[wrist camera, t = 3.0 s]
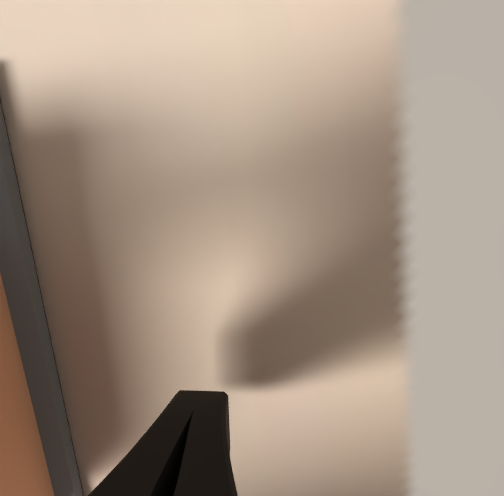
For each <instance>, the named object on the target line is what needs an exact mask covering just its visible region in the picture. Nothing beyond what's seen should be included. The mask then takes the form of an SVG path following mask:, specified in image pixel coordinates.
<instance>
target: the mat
mask: <svg viewBox="0 0 504 496" xmlns="http://www.w3.org/2000/svg"><path fill="white" fill-rule="evenodd" d="M0 274H1V278H2V282H3V286H4V290H5V295H6V299H7V303H8V307H9V311H10V315H11V319H12V323H13V327H14V332H15V336H16V340H17V344H18V348H19V352H20V356H21V360H22V364H23V369H24V373H25V377H26V381H27V385H28V389H29V393H30V397H31V401H32V406H33V410H34V414H35V418H36V422H37V426H38V430H39V434H40V438H41V443H42V447H43V451H44V455H45V459H46V463H47V467H48V471H49V475H50V480H51V484H52V488H53V492H54V496H83V493H82V488H81V483H80V479H79V474H78V469H77V464H76V460H75V455H74V450H73V445H72V441H71V436H70V431H69V426H68V422H67V417H66V412H65V407H64V402H63V398H62V393H61V388H60V383H59V379H58V374H57V369H56V364H55V360H54V355H53V350H52V345H51V341H50V336H49V331H48V326H47V322H46V317H45V312H44V307H43V303H42V298H41V293H40V288H39V284H38V279H37V274H36V269H35V265H34V260H33V255H32V250H31V246H30V241H29V236H28V231H27V227H26V222H25V217H24V212H23V207H22V203H21V198H20V193H19V188H18V184H17V179H16V174H15V169H14V165H13V160H12V155H11V150H10V146H9V141H8V136H7V131H6V127H5V122H4V117H3V112H2V108H1V103H0Z"/></svg>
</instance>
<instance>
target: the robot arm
mask: <svg viewBox="0 0 504 496" xmlns="http://www.w3.org/2000/svg"><path fill="white" fill-rule="evenodd" d="M88 496H238V495H237V491H236V486H235V482H234V477H233V472H232V467H231V461H230V432H229V407H228V395H227V394H226V393H225V392H217V391H184V390H180V391H179V392H178V393H177V394H176V395H175V396H174V398H173V399H172V400H171V401H170V403H169V404H168V405H167V407H166V408H165V409H164V411H163V412H162V413H161V414H160V416H159V417H158V418H157V419H156V421H155V422H154V423H153V424H152V426H151V427H150V428H149V429H148V430H147V432H146V433H145V434H144V435H143V436H142V438H141V439H140V440H139V441H138V442H137V443H136V445H135V446H134V447H133V448H132V449H131V450H130V452H129V453H128V454H127V455H126V456H125V457H124V458H123V459H122V460H121V462H120V463H119V464H118V465H117V466H116V467H115V468H114V469H113V470H112V471H111V472H110V473H109V474H108V475H107V476H106V478H105V479H104V480H103V481H102V482H101V483H100V484H99V485H98V486H97V487H96V488H95V489H94V490H93V491H92V492H91V493H90V494H89V495H88Z"/></svg>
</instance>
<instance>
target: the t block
mask: <svg viewBox="0 0 504 496" xmlns="http://www.w3.org/2000/svg"><path fill="white" fill-rule="evenodd" d="M0 496H54V492H53V488H52V484H51V480H50V475H49V471H48V467H47V463H46V459H45V455H44V451H43V447H42V443H41V438H40V434H39V430H38V426H37V422H36V418H35V414H34V410H33V406H32V401H31V397H30V393H29V389H28V385H27V381H26V377H25V373H24V369H23V364H22V360H21V356H20V352H19V348H18V344H17V340H16V336H15V332H14V327H13V323H12V319H11V315H10V311H9V307H8V303H7V299H6V295H5V290H4V286H3V282H2V278H1V274H0Z"/></svg>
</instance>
